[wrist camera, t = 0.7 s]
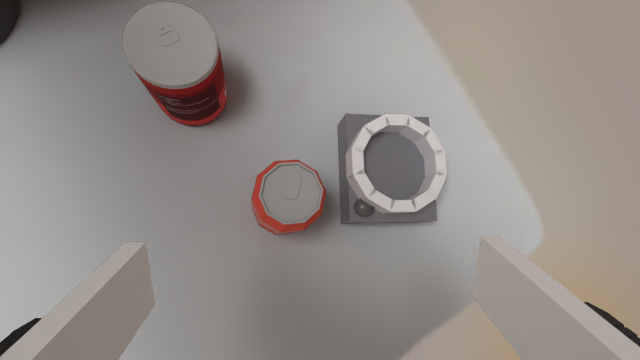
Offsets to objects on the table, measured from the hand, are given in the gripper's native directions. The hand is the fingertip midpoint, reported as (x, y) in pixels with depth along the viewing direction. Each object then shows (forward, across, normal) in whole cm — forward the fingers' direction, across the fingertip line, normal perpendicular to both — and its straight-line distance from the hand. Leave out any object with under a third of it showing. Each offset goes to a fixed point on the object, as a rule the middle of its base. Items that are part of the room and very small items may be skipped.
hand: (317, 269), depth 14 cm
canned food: (+30, -13, +5) cm, 33 cm away
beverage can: (+25, -3, -7) cm, 26 cm away
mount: (+28, +9, -4) cm, 30 cm away
